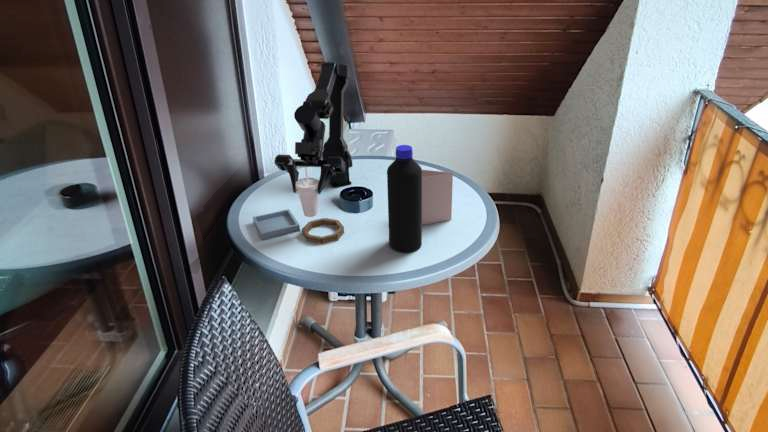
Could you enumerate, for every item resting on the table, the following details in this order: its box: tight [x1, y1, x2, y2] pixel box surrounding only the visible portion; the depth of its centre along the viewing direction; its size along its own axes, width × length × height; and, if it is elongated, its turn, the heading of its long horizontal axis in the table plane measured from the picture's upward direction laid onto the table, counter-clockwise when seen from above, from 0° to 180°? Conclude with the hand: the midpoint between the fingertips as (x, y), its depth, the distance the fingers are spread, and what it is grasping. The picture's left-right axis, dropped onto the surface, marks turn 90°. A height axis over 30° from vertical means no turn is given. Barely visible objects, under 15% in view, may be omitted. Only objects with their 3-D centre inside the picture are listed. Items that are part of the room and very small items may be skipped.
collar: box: [301, 217, 345, 245], centre depth 153 cm, size 11×11×2 cm
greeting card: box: [422, 169, 454, 226], centre depth 154 cm, size 11×7×15 cm, turn 72°
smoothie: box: [296, 167, 319, 218], centre depth 148 cm, size 6×6×14 cm
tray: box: [252, 208, 301, 241], centre depth 157 cm, size 11×11×2 cm
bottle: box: [386, 144, 423, 254], centre depth 140 cm, size 9×9×28 cm
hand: (306, 193), depth 147 cm, fingers closed on smoothie, 6 cm apart
